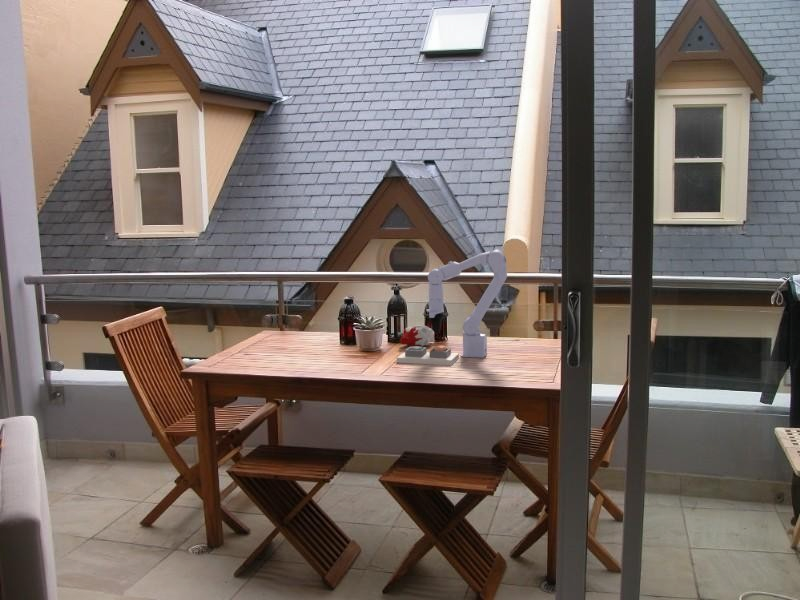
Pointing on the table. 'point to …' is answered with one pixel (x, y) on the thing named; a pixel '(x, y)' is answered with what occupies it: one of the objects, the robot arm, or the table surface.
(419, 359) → the button panel
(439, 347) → the terracotta button
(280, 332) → the table surface
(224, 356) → the table surface
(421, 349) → the grey low dome
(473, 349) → the robot arm
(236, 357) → the table surface
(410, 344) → the white red irregular piece
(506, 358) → the table surface
